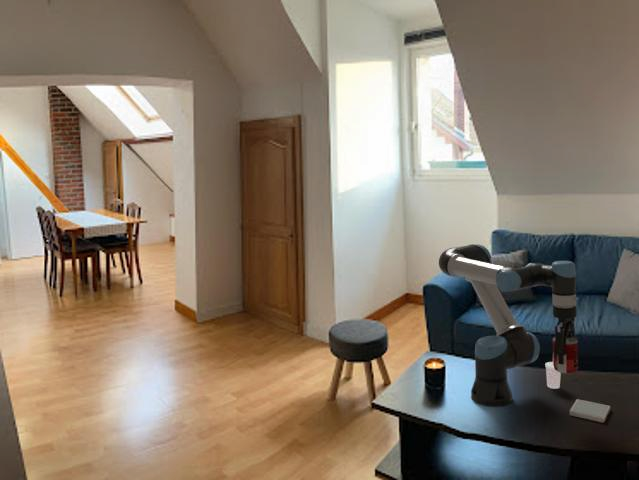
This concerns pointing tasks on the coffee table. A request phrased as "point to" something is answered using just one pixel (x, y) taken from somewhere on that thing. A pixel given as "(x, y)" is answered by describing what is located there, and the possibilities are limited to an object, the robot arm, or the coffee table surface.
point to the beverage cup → (552, 376)
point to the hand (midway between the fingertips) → (565, 368)
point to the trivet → (590, 410)
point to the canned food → (568, 355)
